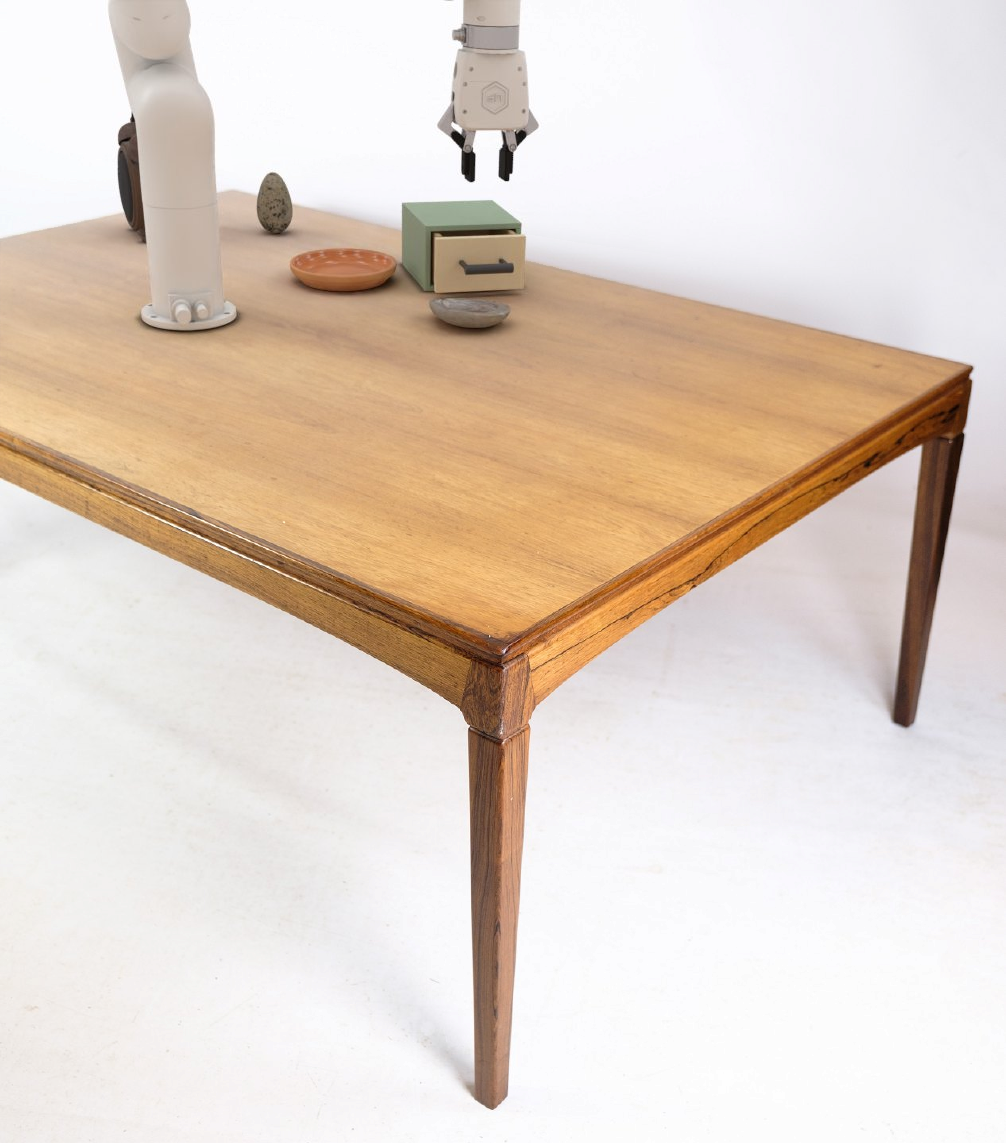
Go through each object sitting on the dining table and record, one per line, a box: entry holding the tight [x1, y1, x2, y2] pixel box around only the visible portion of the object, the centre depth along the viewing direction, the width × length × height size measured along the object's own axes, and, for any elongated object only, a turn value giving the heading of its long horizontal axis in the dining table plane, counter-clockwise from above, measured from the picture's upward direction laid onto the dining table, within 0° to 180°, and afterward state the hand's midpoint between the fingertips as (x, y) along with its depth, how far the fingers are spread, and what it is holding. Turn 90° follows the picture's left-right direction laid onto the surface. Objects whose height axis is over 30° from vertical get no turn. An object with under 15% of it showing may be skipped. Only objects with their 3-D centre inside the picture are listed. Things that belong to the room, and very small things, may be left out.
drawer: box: [430, 229, 527, 294], centre depth 192 cm, size 19×13×8 cm
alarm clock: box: [117, 112, 146, 243], centre depth 210 cm, size 14×7×20 cm, turn 25°
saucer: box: [289, 247, 398, 292], centre depth 194 cm, size 16×16×3 cm
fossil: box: [428, 297, 512, 329], centre depth 178 cm, size 10×12×3 cm
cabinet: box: [401, 199, 522, 292], centre depth 198 cm, size 16×15×10 cm
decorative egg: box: [256, 171, 294, 234], centre depth 217 cm, size 6×6×10 cm
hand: (486, 178), depth 180 cm, fingers open, 4 cm apart
